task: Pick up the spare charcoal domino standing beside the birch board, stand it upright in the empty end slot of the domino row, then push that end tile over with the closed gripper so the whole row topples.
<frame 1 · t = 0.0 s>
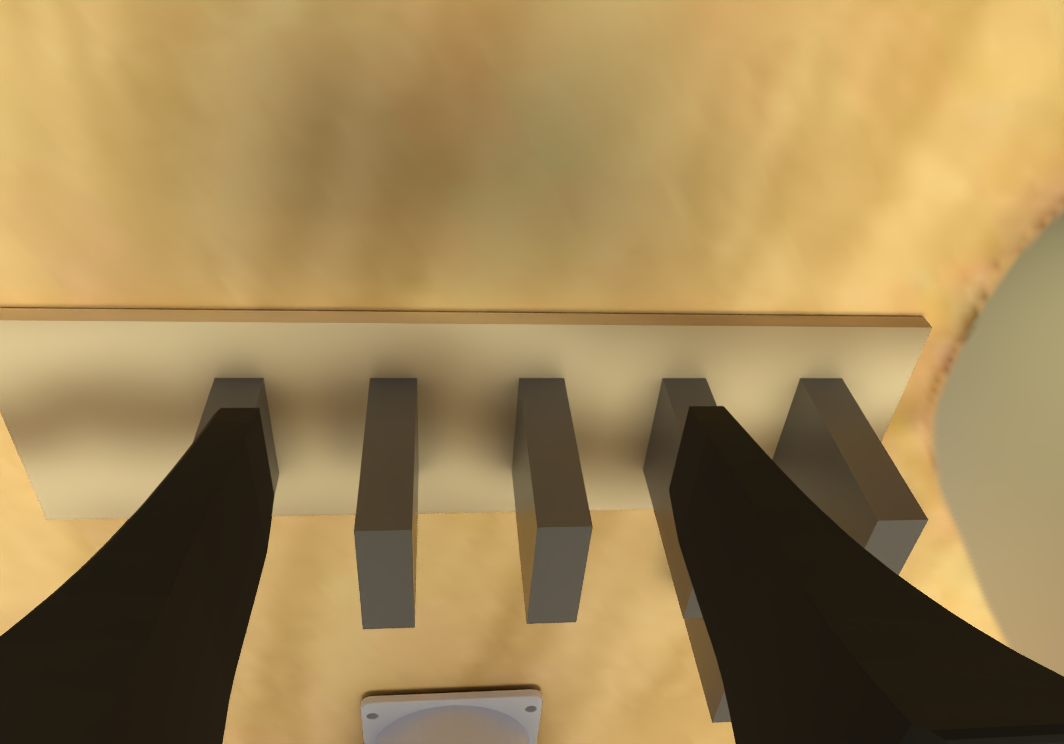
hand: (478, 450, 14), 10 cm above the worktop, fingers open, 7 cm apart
domino 3: (536, 426, 27), point 1 cm above the worktop, touching board
domino 5: (248, 428, 26), point 1 cm above the worktop, touching board
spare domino: (700, 548, 32), on the worktop
board: (474, 414, 27), on the worktop
domino 1: (804, 424, 28), point 1 cm above the worktop, touching board
domino 2: (673, 425, 27), point 1 cm above the worktop, touching board
domino 4: (395, 427, 26), point 1 cm above the worktop, touching board
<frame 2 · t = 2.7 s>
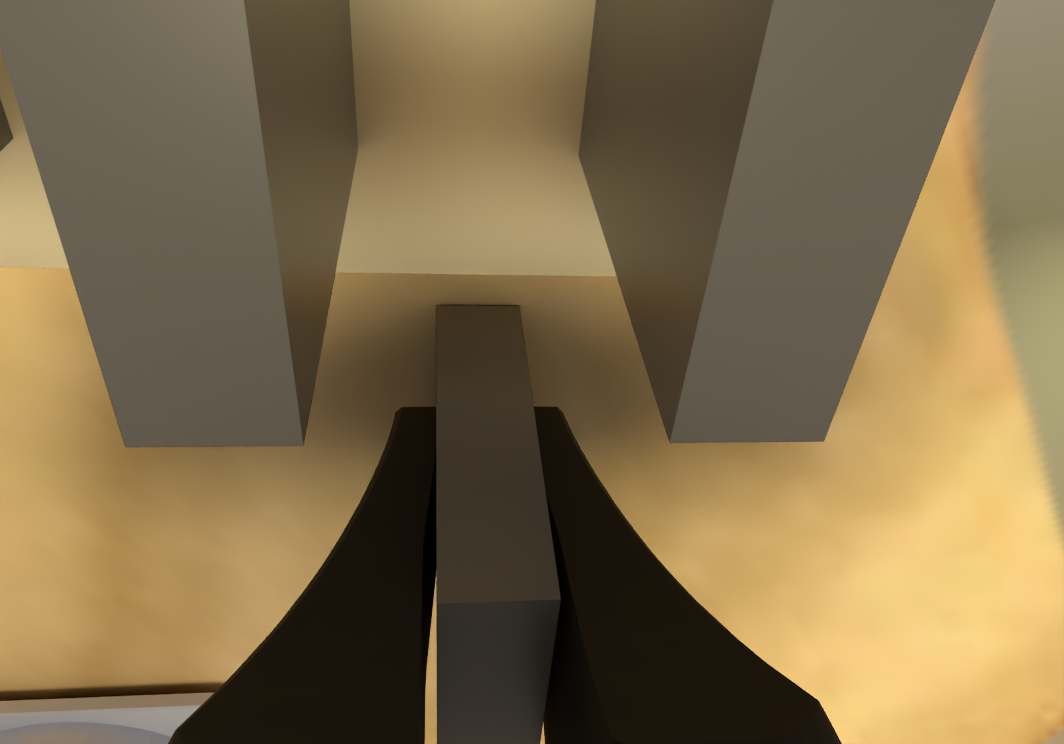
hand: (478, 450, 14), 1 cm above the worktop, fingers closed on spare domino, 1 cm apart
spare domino: (474, 396, 15), on the worktop, touching gripper
domino 1: (648, 11, 11), point 1 cm above the worktop, touching board
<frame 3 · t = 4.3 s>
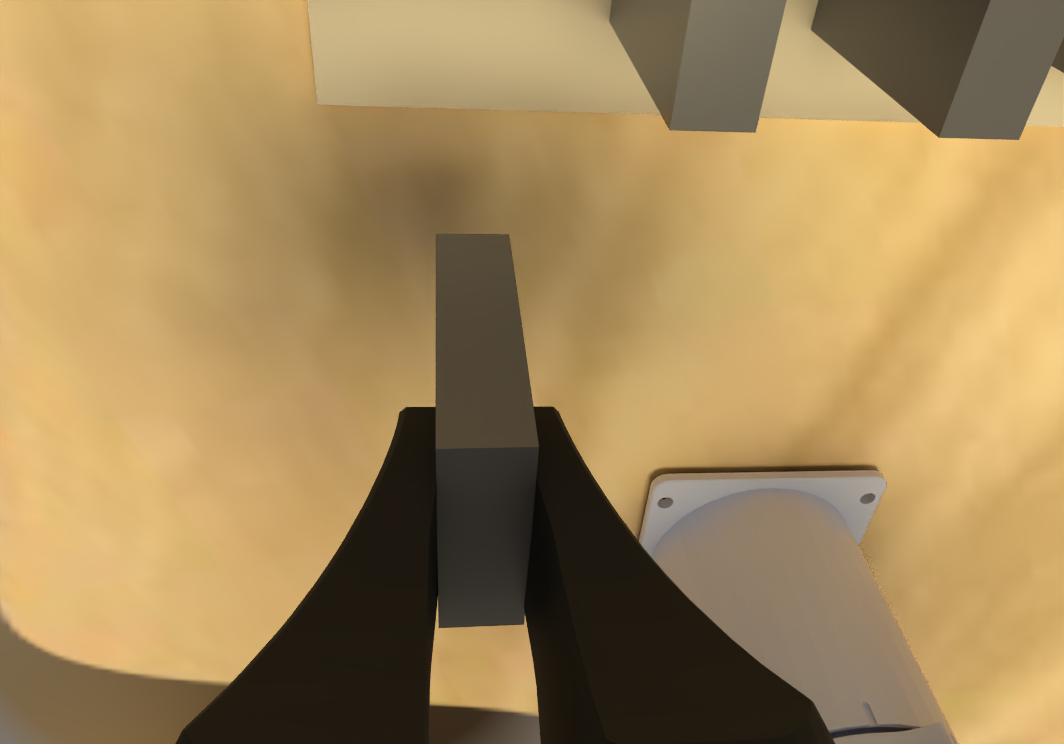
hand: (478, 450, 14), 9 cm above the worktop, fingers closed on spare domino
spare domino: (471, 320, 17), point 5 cm above the worktop, touching gripper
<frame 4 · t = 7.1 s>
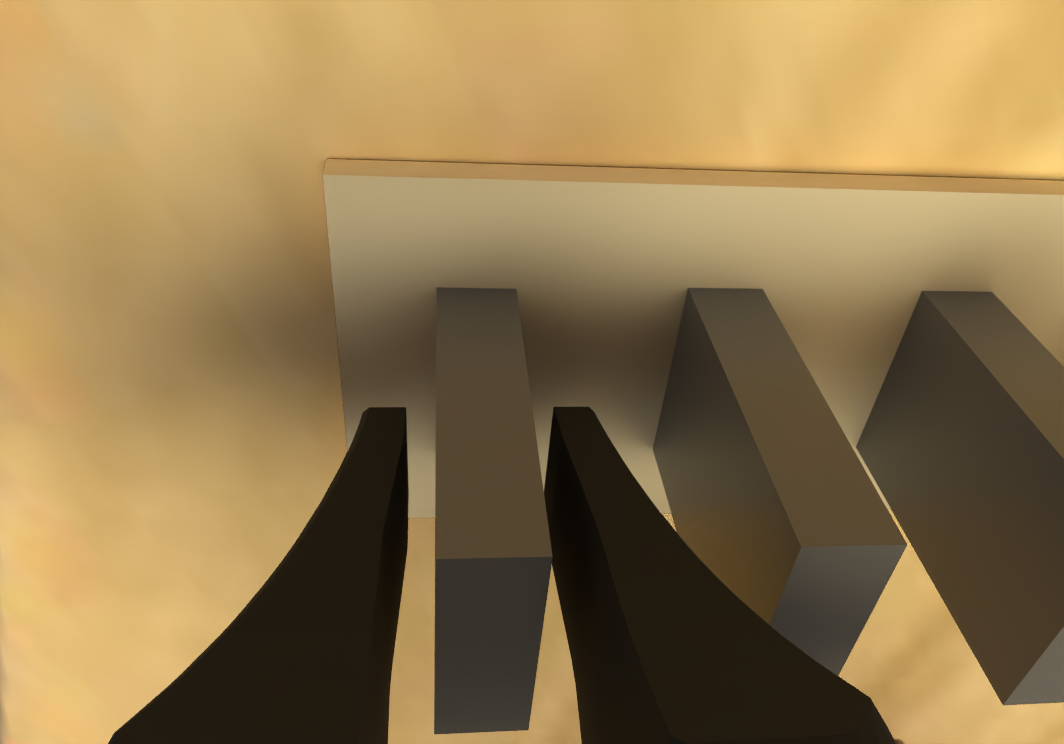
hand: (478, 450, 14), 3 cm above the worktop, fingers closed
domino 5: (703, 374, 16), point 1 cm above the worktop, touching board
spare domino: (472, 376, 16), point 1 cm above the worktop, touching board
board: (1017, 357, 18), on the worktop
domino 4: (919, 374, 17), point 1 cm above the worktop, touching board
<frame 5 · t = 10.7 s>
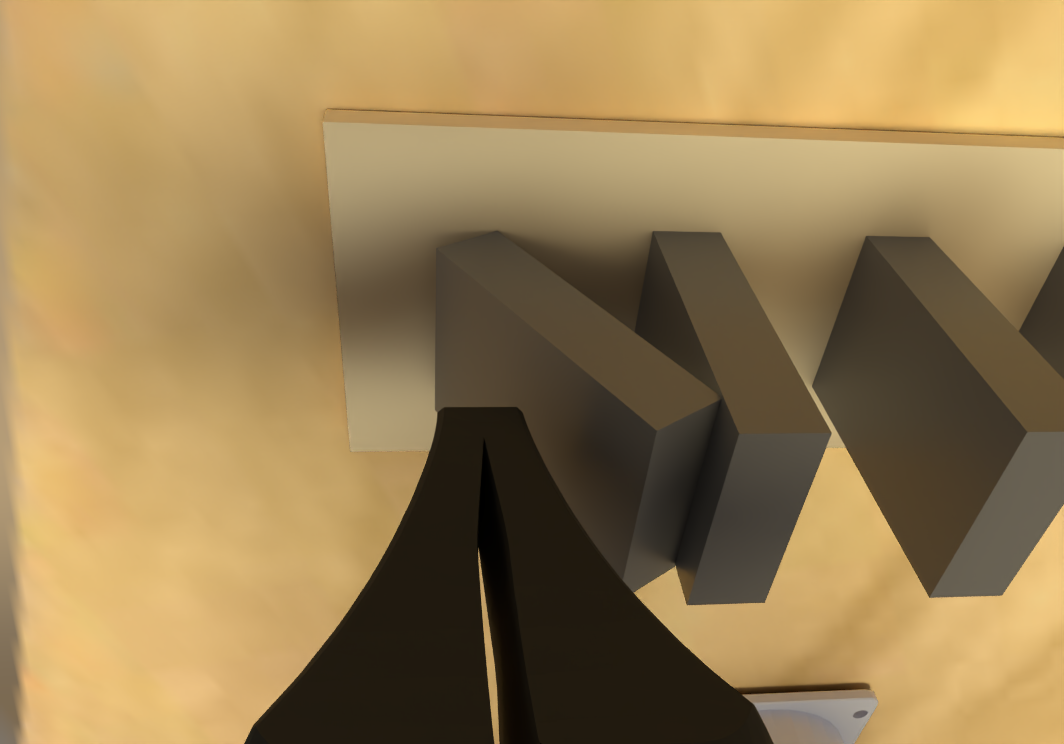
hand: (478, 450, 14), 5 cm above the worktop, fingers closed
domino 3: (1053, 318, 19), point 1 cm above the worktop, touching board
domino 5: (669, 314, 18), point 1 cm above the worktop, touching board, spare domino
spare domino: (464, 324, 17), point 1 cm above the worktop, tilted 32°, touching domino 5
board: (959, 302, 19), on the worktop
domino 4: (867, 316, 18), point 1 cm above the worktop, touching board
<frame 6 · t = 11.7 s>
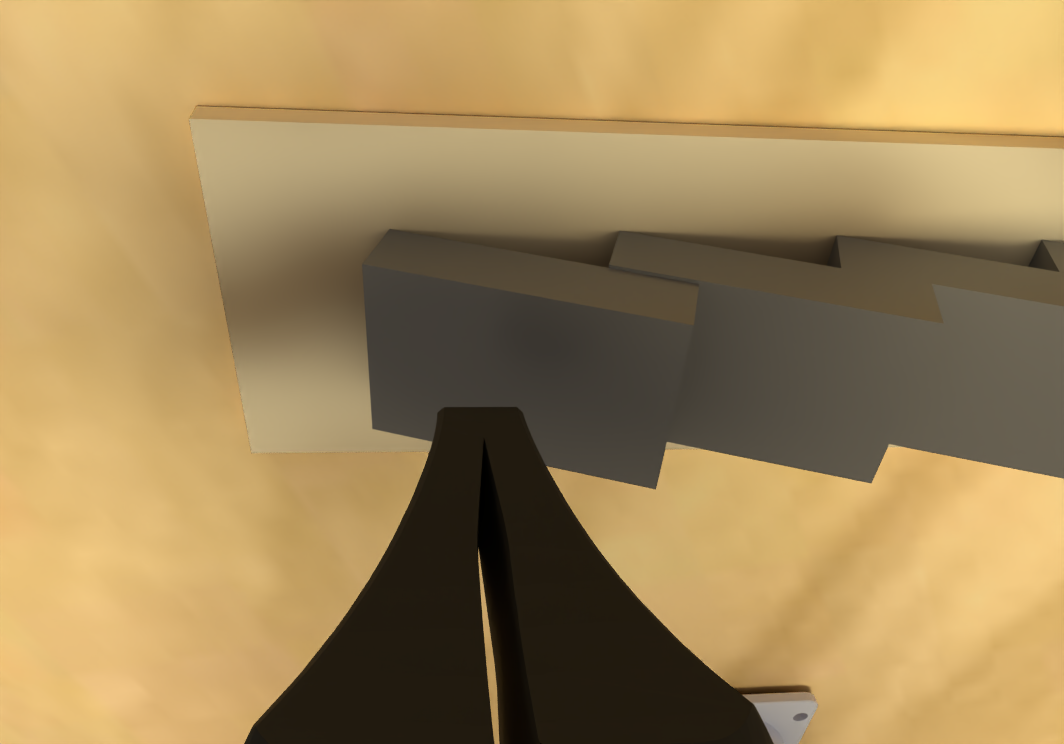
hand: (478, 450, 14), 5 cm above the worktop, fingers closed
domino 3: (1009, 334, 18), point 1 cm above the worktop, tilted 72°, touching board, domino 2, domino 4
domino 5: (601, 331, 17), point 1 cm above the worktop, tilted 72°, touching board, domino 4, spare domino
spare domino: (380, 333, 17), point 1 cm above the worktop, tilted 72°, touching board, domino 5
board: (865, 301, 19), on the worktop
domino 4: (811, 333, 18), point 1 cm above the worktop, tilted 72°, touching board, domino 3, domino 5
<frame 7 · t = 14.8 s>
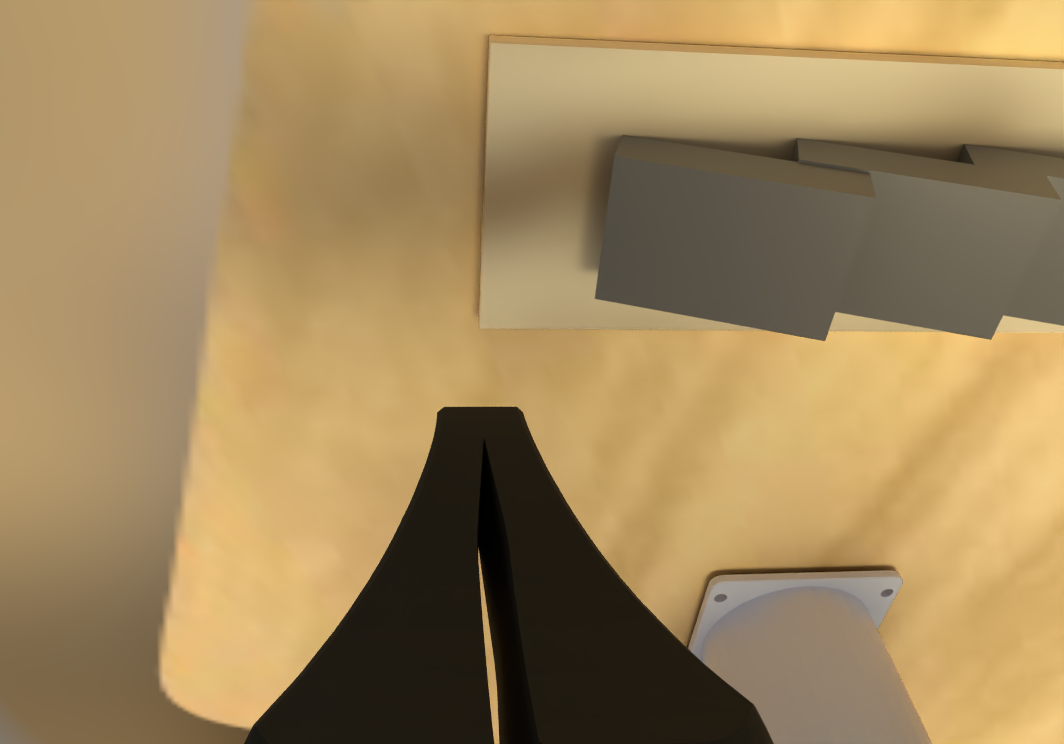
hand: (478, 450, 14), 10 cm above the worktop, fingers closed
domino 5: (777, 220, 22), point 1 cm above the worktop, tilted 72°, touching board, domino 4, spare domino
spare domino: (608, 219, 21), point 1 cm above the worktop, tilted 72°, touching board, domino 5
board: (977, 204, 24), on the worktop
domino 4: (940, 224, 22), point 1 cm above the worktop, tilted 72°, touching board, domino 3, domino 5
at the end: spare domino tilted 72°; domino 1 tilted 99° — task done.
